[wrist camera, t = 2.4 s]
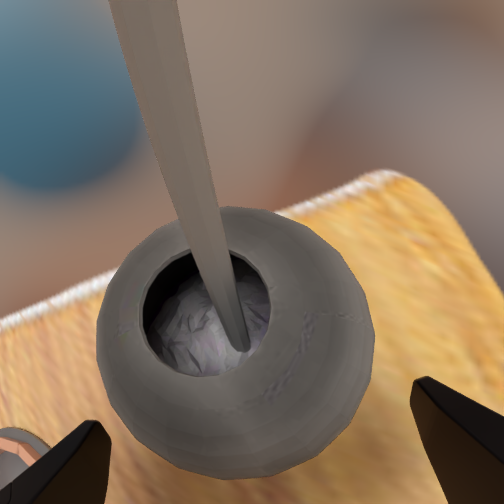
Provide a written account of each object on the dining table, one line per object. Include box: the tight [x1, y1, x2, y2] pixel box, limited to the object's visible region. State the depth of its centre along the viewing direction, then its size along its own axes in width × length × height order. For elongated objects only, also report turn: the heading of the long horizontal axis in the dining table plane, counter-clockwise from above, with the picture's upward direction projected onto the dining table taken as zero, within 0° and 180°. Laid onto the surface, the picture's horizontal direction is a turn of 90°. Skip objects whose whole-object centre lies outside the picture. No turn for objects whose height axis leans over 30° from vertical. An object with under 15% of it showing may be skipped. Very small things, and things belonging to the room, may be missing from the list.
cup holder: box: [0, 428, 51, 490], centre depth 14 cm, size 13×13×2 cm
